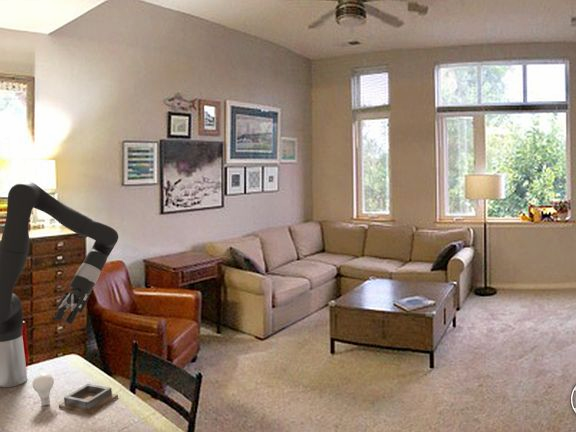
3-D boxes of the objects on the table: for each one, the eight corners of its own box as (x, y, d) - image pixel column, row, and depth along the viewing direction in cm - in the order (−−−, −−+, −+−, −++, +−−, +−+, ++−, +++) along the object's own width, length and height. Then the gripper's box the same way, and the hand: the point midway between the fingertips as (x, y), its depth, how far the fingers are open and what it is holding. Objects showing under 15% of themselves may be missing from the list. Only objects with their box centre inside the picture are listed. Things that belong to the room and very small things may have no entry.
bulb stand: (59, 407, 167) (57, 397, 167) (86, 391, 178) (85, 381, 177) (91, 414, 161) (90, 404, 161) (118, 397, 172) (117, 387, 172)
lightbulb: (48, 410, 166) (44, 378, 164) (30, 409, 167) (27, 377, 166) (60, 400, 172) (56, 369, 170) (43, 399, 173) (40, 369, 172)
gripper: (67, 273, 183) (43, 315, 177) (86, 275, 174) (62, 319, 167) (84, 282, 188) (62, 323, 181) (104, 284, 179) (81, 328, 172)
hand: (62, 321), depth 174 cm, fingers open, 8 cm apart
